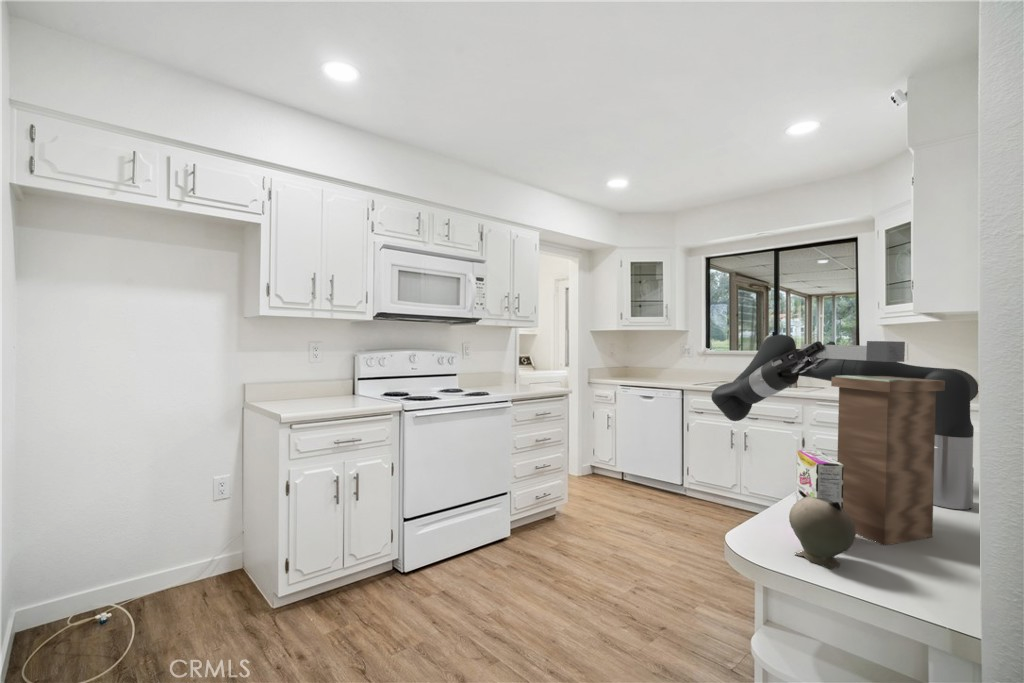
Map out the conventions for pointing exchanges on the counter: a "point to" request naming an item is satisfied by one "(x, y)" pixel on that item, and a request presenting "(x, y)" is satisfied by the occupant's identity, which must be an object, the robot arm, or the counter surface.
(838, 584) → the counter surface
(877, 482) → the stand
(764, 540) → the counter surface
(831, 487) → the candy bar box
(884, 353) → the brushed steel block
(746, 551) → the counter surface
